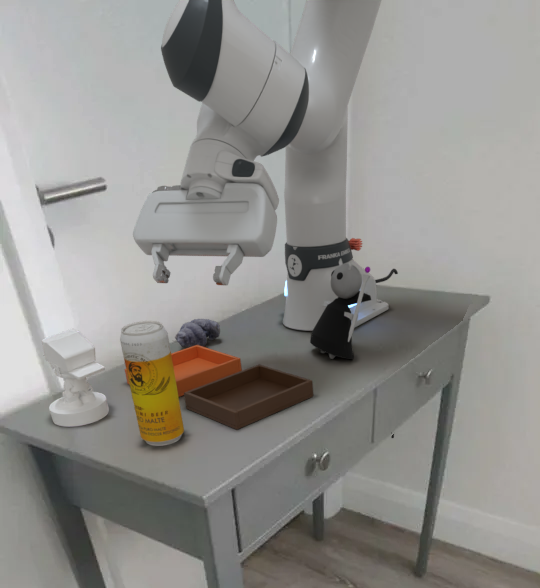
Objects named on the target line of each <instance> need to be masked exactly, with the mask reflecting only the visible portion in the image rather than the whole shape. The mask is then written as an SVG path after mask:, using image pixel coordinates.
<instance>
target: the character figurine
mask: <svg viewBox="0 0 540 588" xmlns="http://www.w3.org/2000/svg"><path fill="white" fill-rule="evenodd" d="M41 346H42V351H43V357H44V360H45V361H46V362H47V363H48V364H49V366H50V367H51V370H54V374H55V375H56V376H57V377H58V378H60V379H61V378H62V379H63V389H64V391H62V396H61V397H60V398H57V399H55V400H54V401H53V402H51V403H50V404H49V407H48V410H49V413H50V416H51V419H52V423H54V424H55V425H56V426H59V427H65V428H68V427H70V428H71V427H81V426H85V425H86V426H87V425H89V424H93V423H96V422H98V421H100V420H102V419H103V418H105V417H106V416H107V415H108V414H109V413H110V407H109V403H108V400H107V399H108V398H107V396H106V395H105V394H103V393H101V392H97V391H93V390H94V389H93V386H92V385H91V384H90V383H89V382H88V381H87V378H88V377H91V376H93V375H96V374H99V373H101V372H103V371H105V370H106V366H104V365H102V364H101V363H99V362H96V359H97V357H96V347H95V345H94V344H93V343H92V342H91V341H90V340H89V339H88V338H87V337H86V336H85V334H83V333H82V332H81V331H80V330H77V329H76V328H70V329H67V330H64V331H61V332H58V333H56V334H53V335H50V336H47V337H44V338H43V339H41Z"/></svg>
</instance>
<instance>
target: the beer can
mask: <svg viewBox="0 0 540 588" xmlns="http://www.w3.org/2000/svg"><path fill="white" fill-rule="evenodd" d="M120 331H121V332H120V336H119V342H120V346H121V347H120V348H121V351H122V357H123V362H124V366H125V369H126V370H127V375H128V380H129V384H130V385H129V384H128V385H129V389H130V393H131V399H132V403H133V407H134V411H135V416H136V421H137V425H138V426H137V427H138V430H139V435H140V439H141V440H143V441H144V442H145V443H146V445H147V444H148V445H150V446H152V447H164V446H169V445H172V444H175V443H177V442H178V441H179V440H180V439H181V438H182V435H183V433H184V432H185V428H184V427H185V426H184V421H183V416H182V410H181V404H180V397H178V391H177V385H176V380H175V374H174V368H173V362H172V356H171V353H172V351H171V345H170V337H169V333H168V331H167V329H166V328H165V327H164V324H163V322H161V321H157V320H141V321H136V322H132V323H129V324H126V325H124V326H123V327H121V328H120Z"/></svg>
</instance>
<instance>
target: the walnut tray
mask: <svg viewBox="0 0 540 588" xmlns="http://www.w3.org/2000/svg"><path fill="white" fill-rule="evenodd" d="M313 383H314V382H313V379H309V378H306V377H302V376H301V375H297V374H293V373H289V372H287V371H283V370H280V369H277V368H273V367H270V366H267V365H264V364H261V363H259V364H256V365H253V366H251V367H248V368H245V369H242V371H240V372H237V373H235V374H232V375H229V376H227V377H224V378H221V379H219V380H216V381H213V382H211V383H208V384H205V385H203V386H200V387H198V388H195V389H192V390H190V391H187V392H185V393H184V395H183V396H184V402H185V403H184V404H185V408H186V410H189V411H191V412H193V413H196V414H198V415H201V416H203V417H205V418H208V419H210V420H212V421H214V422H217V423H220V424H223V425H225V426H227V427H230V428H232V429H234V430H239V429H241V428H244V427H247V426H249V425H251V424H253V423H256V422H258V421H260V420H262V419H265V418H267V417H269V416H271V415H274V414H276V413H278V412H280V411H283V410H285V409H287V408H289V407H292V406H295V405H296V404H299V403H302V402H304V401H305V400H306V401H307V400H309V399H310V398H313V397H314V384H313Z"/></svg>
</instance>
